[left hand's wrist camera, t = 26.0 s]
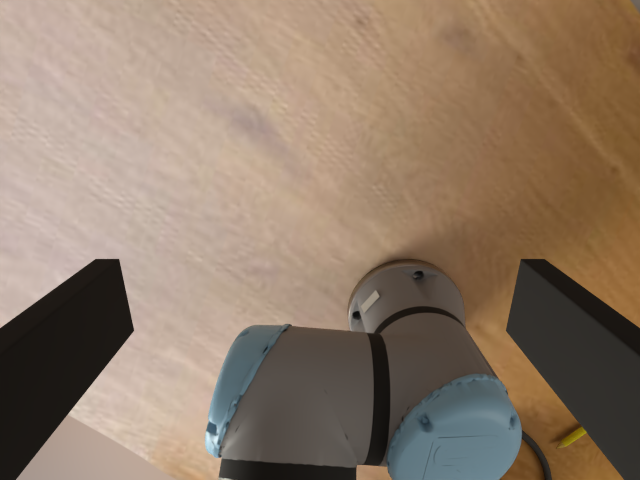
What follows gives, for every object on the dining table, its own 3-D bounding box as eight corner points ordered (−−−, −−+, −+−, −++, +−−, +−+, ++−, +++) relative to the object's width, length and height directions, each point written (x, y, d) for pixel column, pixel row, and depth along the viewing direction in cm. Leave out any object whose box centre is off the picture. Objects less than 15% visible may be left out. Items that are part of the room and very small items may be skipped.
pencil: (642, 381, 56) (648, 386, 55) (646, 385, 56) (652, 390, 55) (552, 444, 60) (555, 450, 59) (556, 447, 60) (559, 453, 59)
